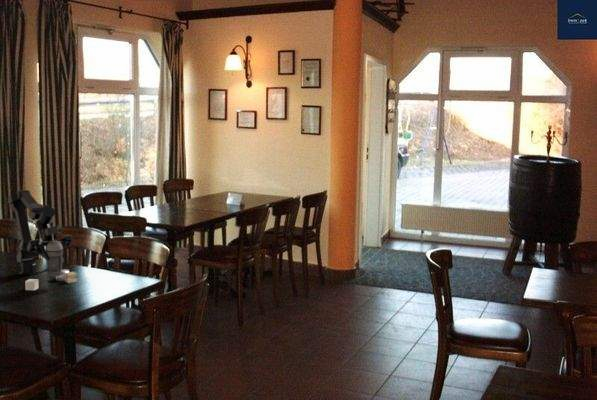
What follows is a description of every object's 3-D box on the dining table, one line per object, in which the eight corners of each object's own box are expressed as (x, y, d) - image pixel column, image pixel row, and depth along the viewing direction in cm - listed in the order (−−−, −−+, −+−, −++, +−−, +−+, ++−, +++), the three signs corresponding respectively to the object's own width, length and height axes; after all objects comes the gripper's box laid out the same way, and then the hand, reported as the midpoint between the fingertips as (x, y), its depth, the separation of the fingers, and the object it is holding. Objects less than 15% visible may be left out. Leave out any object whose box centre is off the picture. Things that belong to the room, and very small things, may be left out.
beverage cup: (53, 278, 280) (50, 233, 277) (43, 275, 284) (41, 230, 281) (67, 274, 286) (65, 230, 283) (58, 272, 290) (56, 228, 287)
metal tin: (53, 280, 298) (52, 271, 297) (61, 277, 304) (61, 268, 303) (64, 281, 296) (63, 273, 295) (72, 278, 302) (72, 270, 301)
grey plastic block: (25, 290, 282) (25, 281, 281) (29, 287, 286) (29, 279, 285) (34, 290, 281) (34, 281, 281) (38, 288, 285) (38, 279, 285)
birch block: (64, 281, 296) (64, 273, 295) (73, 280, 299) (72, 271, 298) (68, 283, 293) (68, 274, 292) (76, 281, 296) (76, 273, 295)
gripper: (28, 222, 278) (39, 251, 272) (70, 217, 290) (81, 245, 284) (22, 237, 285) (33, 266, 278) (63, 231, 297) (74, 259, 291)
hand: (56, 259), depth 283 cm, fingers closed on beverage cup, 7 cm apart
